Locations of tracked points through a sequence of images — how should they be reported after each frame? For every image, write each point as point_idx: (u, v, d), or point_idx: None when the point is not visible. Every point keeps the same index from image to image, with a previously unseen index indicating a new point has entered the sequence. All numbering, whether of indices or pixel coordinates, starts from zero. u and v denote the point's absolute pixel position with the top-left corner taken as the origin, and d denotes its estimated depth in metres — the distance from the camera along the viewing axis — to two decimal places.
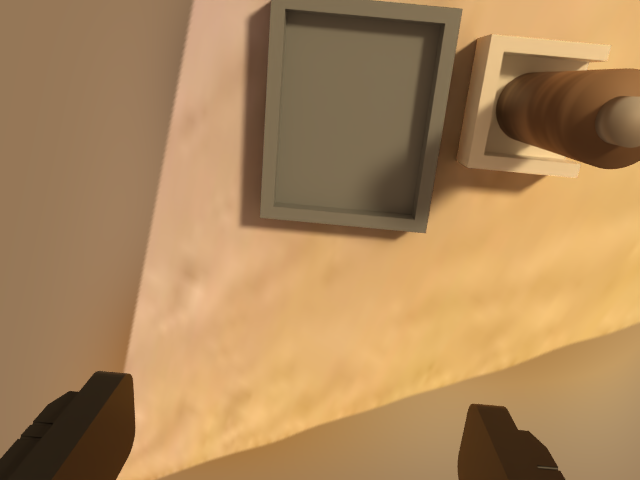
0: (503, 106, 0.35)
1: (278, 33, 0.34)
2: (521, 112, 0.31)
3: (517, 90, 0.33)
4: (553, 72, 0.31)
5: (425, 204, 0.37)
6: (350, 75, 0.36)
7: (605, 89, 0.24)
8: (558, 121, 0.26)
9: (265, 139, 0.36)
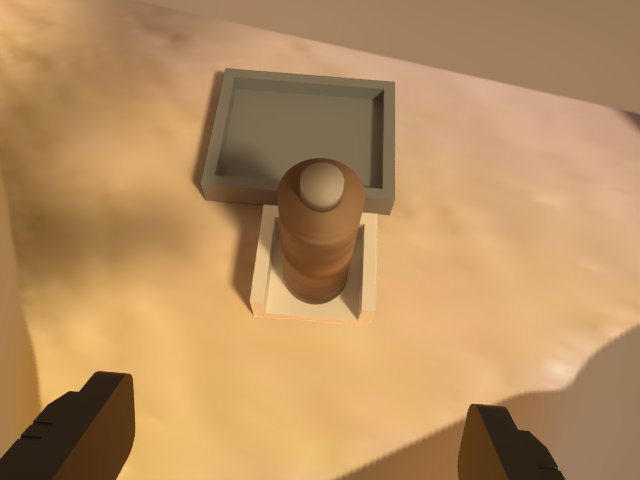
0: None
1: (367, 84, 0.45)
2: None
3: None
4: None
5: (228, 182, 0.40)
6: (338, 138, 0.44)
7: (346, 180, 0.28)
8: None
9: (289, 74, 0.46)
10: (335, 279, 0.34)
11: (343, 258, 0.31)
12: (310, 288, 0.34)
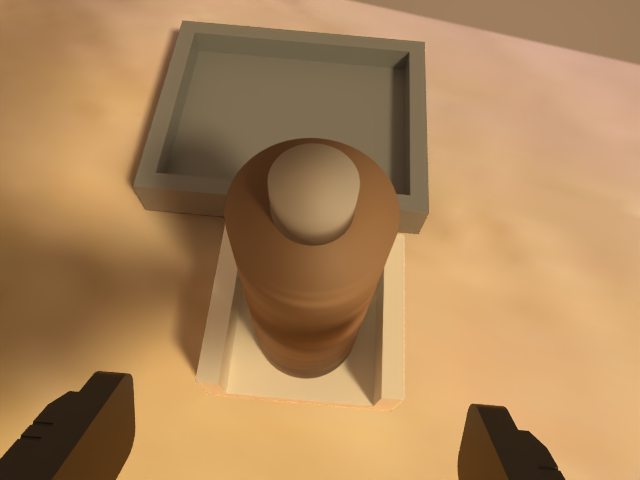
0: None
1: (384, 45, 0.32)
2: None
3: None
4: None
5: (176, 184, 0.26)
6: (343, 121, 0.31)
7: (363, 180, 0.14)
8: None
9: (274, 29, 0.32)
10: (339, 349, 0.20)
11: (353, 321, 0.17)
12: (296, 362, 0.20)
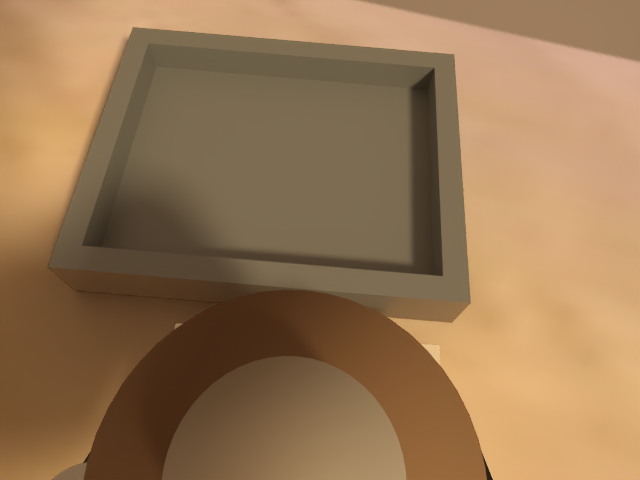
0: None
1: (401, 59, 0.24)
2: None
3: None
4: None
5: (110, 262, 0.18)
6: (346, 162, 0.23)
7: (402, 397, 0.07)
8: None
9: (254, 39, 0.24)
10: None
11: None
12: None
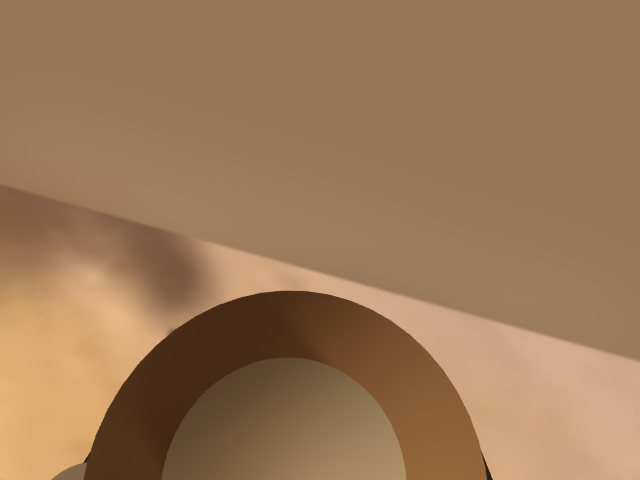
0: None
1: None
2: None
3: None
4: None
5: None
6: None
7: (402, 398, 0.07)
8: None
9: None
10: None
11: None
12: None
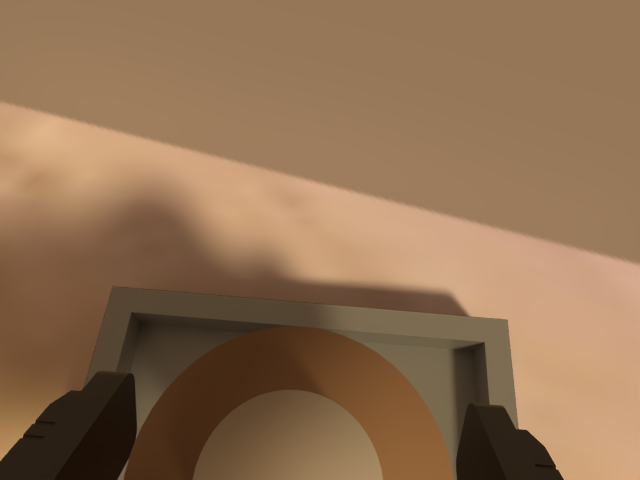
0: None
1: (443, 329, 0.19)
2: None
3: None
4: None
5: None
6: None
7: (385, 419, 0.08)
8: None
9: (262, 301, 0.20)
10: None
11: None
12: None
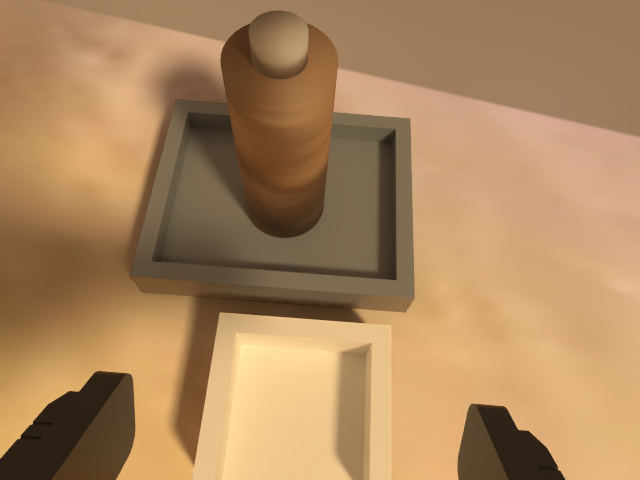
0: None
1: (372, 122, 0.33)
2: None
3: None
4: None
5: (171, 272, 0.27)
6: (332, 198, 0.32)
7: (314, 43, 0.21)
8: None
9: None
10: (306, 197, 0.27)
11: (313, 160, 0.24)
12: (275, 210, 0.27)
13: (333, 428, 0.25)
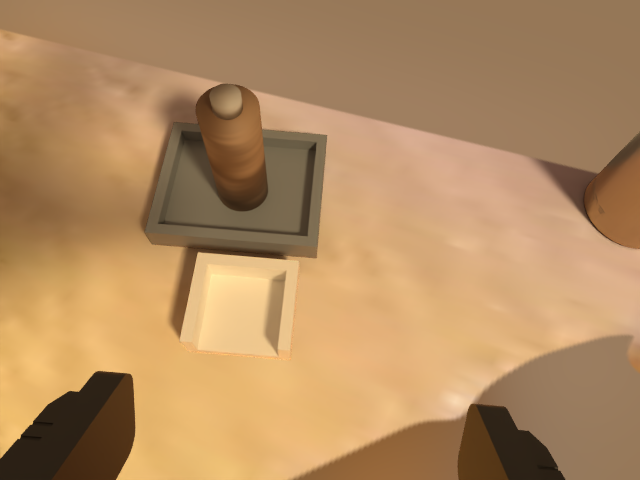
0: None
1: (301, 137, 0.50)
2: None
3: None
4: None
5: (170, 230, 0.45)
6: (274, 187, 0.49)
7: (247, 99, 0.39)
8: None
9: None
10: (251, 185, 0.44)
11: (251, 163, 0.42)
12: (232, 192, 0.45)
13: (264, 321, 0.43)
